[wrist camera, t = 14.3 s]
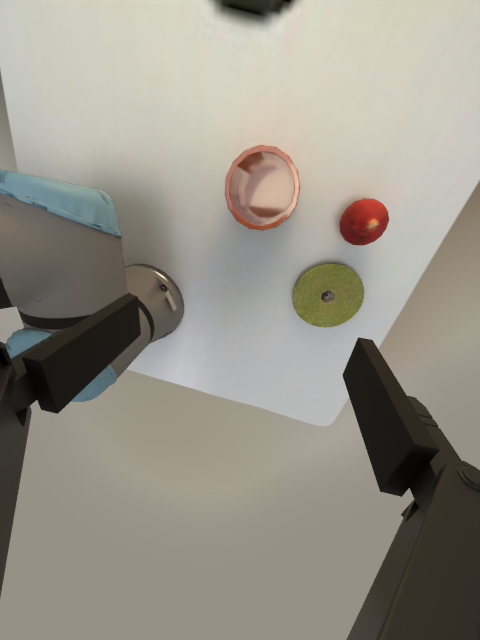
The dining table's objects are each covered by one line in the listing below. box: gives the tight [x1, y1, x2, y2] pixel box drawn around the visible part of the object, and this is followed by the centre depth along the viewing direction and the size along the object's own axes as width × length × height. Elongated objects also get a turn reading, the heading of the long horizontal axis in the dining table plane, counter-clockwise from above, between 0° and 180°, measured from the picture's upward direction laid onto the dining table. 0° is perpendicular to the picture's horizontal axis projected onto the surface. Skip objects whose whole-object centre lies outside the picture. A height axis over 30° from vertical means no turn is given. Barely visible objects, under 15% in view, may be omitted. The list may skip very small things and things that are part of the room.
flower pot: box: [225, 145, 300, 230], centre depth 33 cm, size 9×9×7 cm
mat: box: [293, 263, 364, 327], centre depth 41 cm, size 11×11×2 cm
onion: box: [340, 199, 389, 245], centre depth 32 cm, size 6×6×8 cm
